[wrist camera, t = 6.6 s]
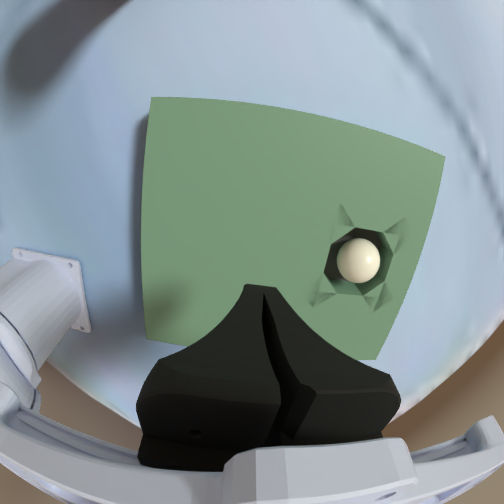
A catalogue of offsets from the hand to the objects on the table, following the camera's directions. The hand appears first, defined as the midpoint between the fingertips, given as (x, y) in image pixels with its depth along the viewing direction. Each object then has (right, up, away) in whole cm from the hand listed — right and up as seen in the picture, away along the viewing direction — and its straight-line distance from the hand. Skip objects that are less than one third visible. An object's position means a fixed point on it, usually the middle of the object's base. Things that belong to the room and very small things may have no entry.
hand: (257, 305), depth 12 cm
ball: (+7, +2, +7) cm, 11 cm away
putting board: (+2, +3, +9) cm, 10 cm away
